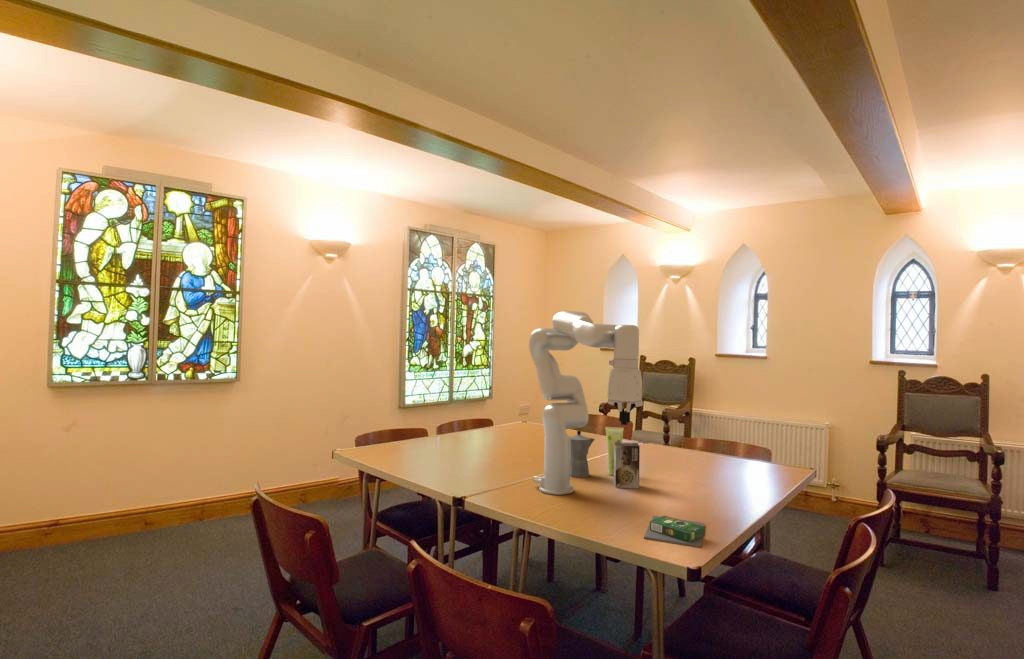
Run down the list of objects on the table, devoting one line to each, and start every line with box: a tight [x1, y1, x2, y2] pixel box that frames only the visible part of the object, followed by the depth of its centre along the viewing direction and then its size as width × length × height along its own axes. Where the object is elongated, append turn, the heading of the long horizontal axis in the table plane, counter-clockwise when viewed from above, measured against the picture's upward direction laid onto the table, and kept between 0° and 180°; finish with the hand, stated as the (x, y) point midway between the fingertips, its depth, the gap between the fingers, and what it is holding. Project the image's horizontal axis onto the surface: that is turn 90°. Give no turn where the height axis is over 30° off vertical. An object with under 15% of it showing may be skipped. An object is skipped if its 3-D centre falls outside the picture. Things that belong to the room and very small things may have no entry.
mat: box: [643, 515, 706, 548], centre depth 158 cm, size 15×20×1 cm
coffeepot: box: [568, 430, 596, 479], centre depth 223 cm, size 15×9×18 cm, turn 94°
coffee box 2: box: [649, 515, 706, 543], centre depth 155 cm, size 8×3×13 cm
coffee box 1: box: [613, 441, 641, 489], centre depth 207 cm, size 9×6×16 cm
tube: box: [604, 426, 625, 477], centre depth 225 cm, size 6×5×20 cm
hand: (624, 424), depth 168 cm, fingers closed
